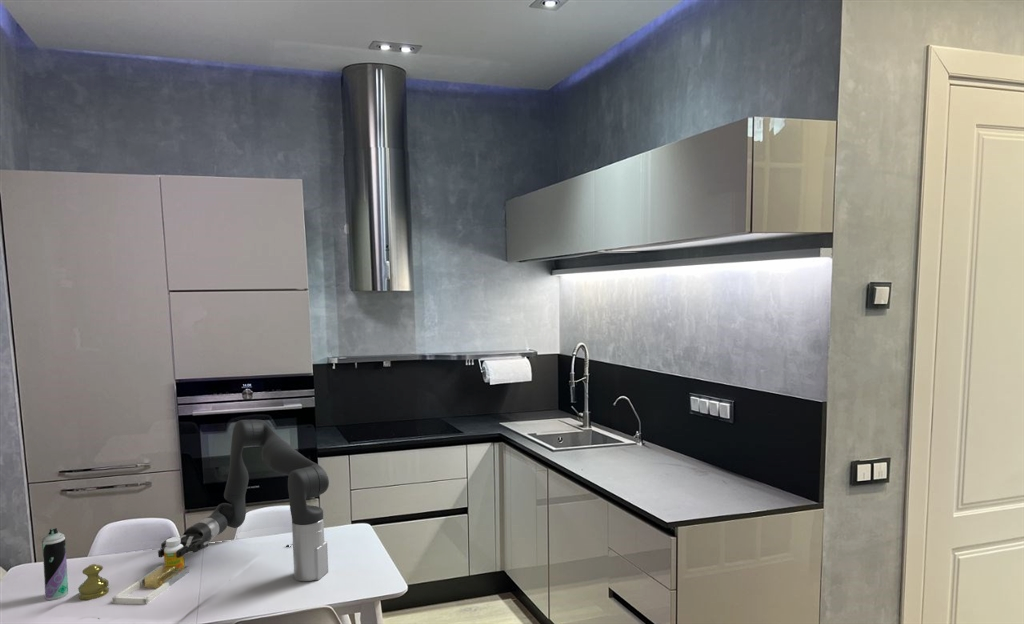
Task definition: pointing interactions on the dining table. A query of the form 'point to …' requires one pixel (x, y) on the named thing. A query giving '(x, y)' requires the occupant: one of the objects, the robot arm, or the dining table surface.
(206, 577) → the dining table surface
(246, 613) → the dining table surface
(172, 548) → the supplement bottle
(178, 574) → the rail
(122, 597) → the tray
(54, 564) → the spray can
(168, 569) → the chip
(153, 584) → the tan block
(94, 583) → the gold metal knob shape
